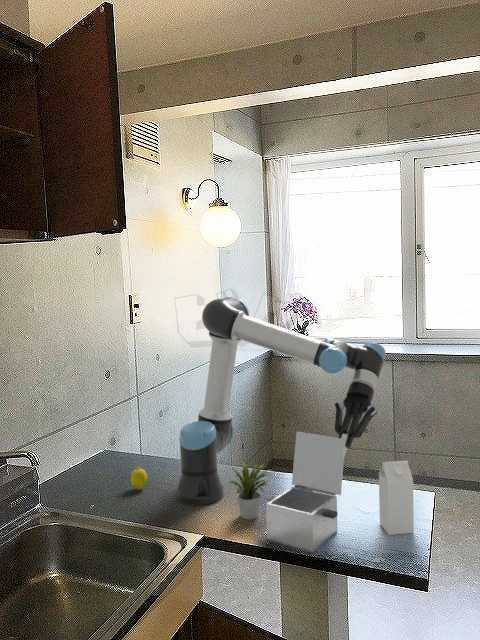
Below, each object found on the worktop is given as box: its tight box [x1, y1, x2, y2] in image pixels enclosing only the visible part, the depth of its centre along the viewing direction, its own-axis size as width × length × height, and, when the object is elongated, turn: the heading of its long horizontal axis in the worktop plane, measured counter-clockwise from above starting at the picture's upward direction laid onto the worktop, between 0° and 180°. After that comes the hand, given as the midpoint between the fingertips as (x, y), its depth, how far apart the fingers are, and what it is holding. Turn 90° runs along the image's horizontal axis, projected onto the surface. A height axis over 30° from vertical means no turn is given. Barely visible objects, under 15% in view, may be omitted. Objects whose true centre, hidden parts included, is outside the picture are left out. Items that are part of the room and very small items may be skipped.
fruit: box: [130, 466, 148, 491], centre depth 191 cm, size 6×6×8 cm
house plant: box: [228, 461, 275, 520], centre depth 165 cm, size 14×14×16 cm
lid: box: [291, 431, 345, 496], centre depth 160 cm, size 15×16×3 cm
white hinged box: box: [265, 486, 339, 554], centre depth 152 cm, size 20×14×10 cm
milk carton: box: [378, 460, 415, 536], centre depth 154 cm, size 7×7×19 cm
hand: (339, 456), depth 159 cm, fingers closed
